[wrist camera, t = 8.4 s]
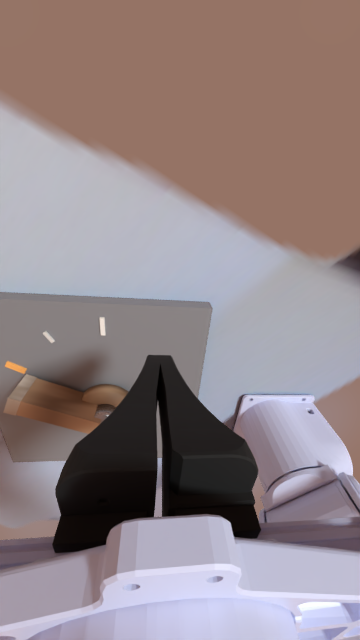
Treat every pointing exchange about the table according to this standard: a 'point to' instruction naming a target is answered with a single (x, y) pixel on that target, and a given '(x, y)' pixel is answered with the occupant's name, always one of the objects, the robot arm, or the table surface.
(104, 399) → the dial
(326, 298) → the table surface
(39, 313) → the dial plate
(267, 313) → the table surface
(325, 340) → the table surface
